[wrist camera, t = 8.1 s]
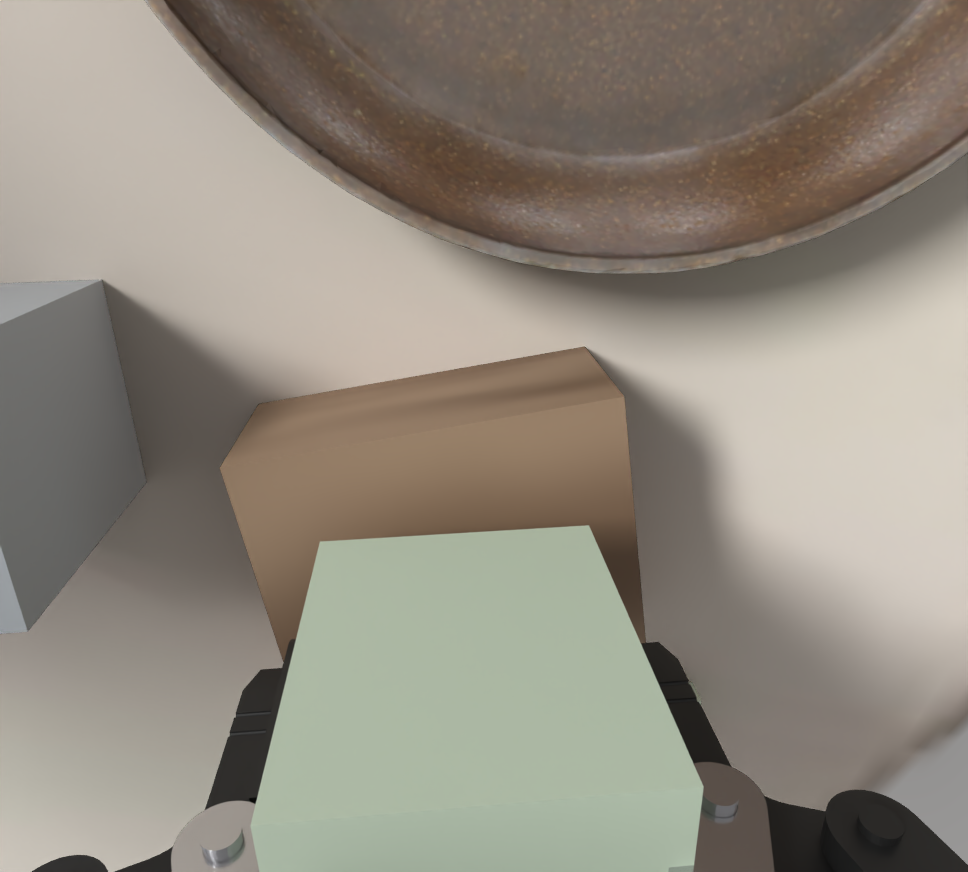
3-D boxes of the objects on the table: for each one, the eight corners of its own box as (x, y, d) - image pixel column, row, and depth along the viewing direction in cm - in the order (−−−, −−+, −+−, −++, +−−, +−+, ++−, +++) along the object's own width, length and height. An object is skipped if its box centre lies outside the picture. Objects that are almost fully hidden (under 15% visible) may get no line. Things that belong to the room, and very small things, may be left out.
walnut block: (261, 400, 18) (219, 467, 14) (582, 343, 18) (623, 396, 14) (337, 659, 21) (319, 770, 17) (610, 609, 21) (651, 709, 17)
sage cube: (319, 541, 13) (251, 825, 8) (589, 525, 14) (703, 787, 8) (345, 749, 15) (303, 1096, 10) (581, 730, 16) (669, 1055, 10)
